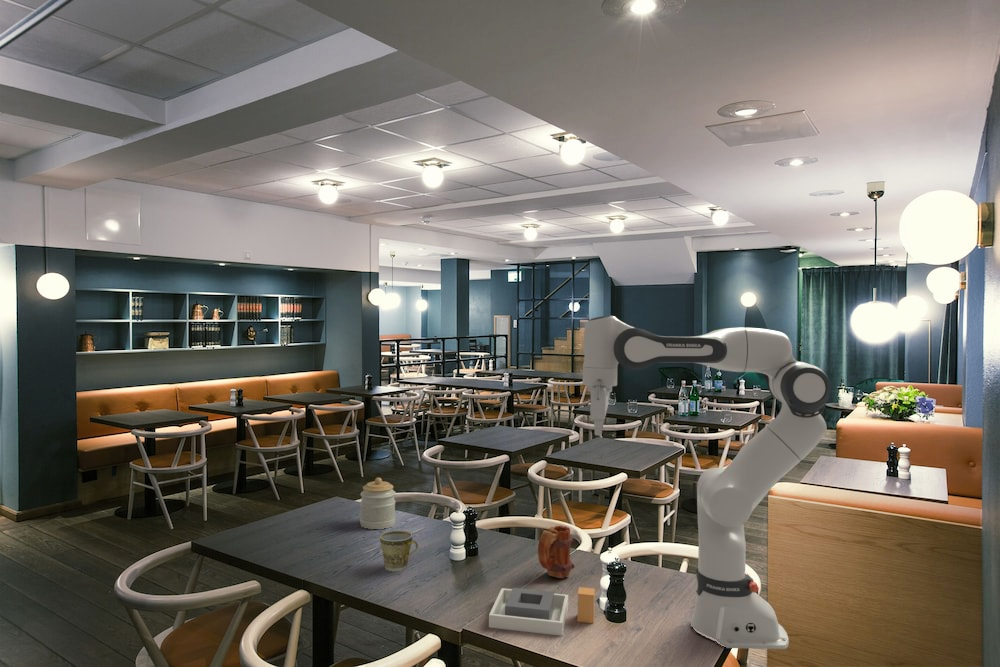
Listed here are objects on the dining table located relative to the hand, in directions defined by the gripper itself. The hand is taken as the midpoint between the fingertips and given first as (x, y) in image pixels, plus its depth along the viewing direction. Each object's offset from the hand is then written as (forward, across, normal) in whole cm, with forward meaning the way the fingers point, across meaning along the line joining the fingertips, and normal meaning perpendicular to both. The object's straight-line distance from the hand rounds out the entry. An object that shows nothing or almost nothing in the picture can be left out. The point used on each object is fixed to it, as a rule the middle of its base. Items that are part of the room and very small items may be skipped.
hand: (598, 431), depth 159 cm
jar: (+48, +56, +83) cm, 111 cm away
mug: (+48, +22, +13) cm, 54 cm away
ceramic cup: (+48, +18, +60) cm, 79 cm away
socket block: (+47, -6, +16) cm, 50 cm away
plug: (+48, -4, +2) cm, 48 cm away
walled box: (+48, -6, +16) cm, 51 cm away
